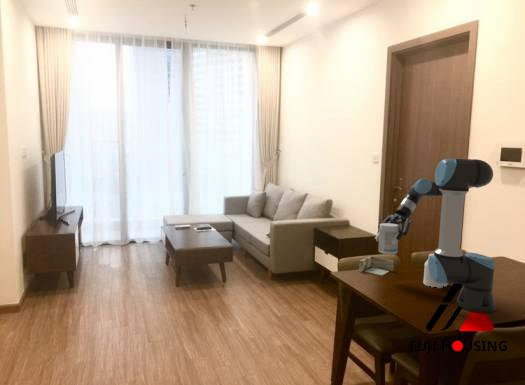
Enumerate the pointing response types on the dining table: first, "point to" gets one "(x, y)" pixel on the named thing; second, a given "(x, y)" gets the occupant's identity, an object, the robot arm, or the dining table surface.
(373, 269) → the mat
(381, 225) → the supplement tub
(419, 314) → the dining table surface
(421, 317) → the dining table surface
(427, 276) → the jar
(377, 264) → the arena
